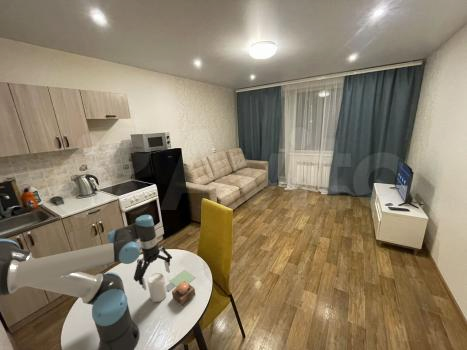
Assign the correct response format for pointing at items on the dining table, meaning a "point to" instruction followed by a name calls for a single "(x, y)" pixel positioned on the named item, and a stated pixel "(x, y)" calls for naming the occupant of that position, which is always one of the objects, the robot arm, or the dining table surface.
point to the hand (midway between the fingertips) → (156, 279)
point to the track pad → (169, 287)
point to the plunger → (182, 288)
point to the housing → (186, 297)
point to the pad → (182, 278)
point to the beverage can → (157, 287)
